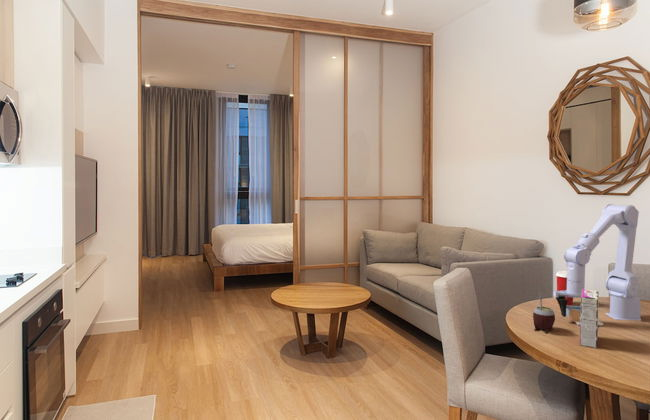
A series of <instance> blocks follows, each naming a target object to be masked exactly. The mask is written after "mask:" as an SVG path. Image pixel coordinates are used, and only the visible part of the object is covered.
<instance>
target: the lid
mask: <svg viewBox="0 0 650 420" xmlns="http://www.w3.org/2000/svg"><path fill="white" fill-rule="evenodd" d="M568 319H569V320H570V321H571V322H574V323H575V324H576V325H578V326H580V322H581V317H580V312H579V311H578V310H573V309H569V317H568ZM598 326H602V327H603V326H604V323H603V322H601V321H600V320H598Z"/></svg>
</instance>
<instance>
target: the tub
mask: <svg viewBox="0 0 650 420" xmlns="http://www.w3.org/2000/svg"><path fill="white" fill-rule="evenodd" d="M569 309H580V310H578V311H579V312H580V317H581V305H571V306H566V317H568V318H569Z"/></svg>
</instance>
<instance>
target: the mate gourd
mask: <svg viewBox="0 0 650 420" xmlns="http://www.w3.org/2000/svg"><path fill="white" fill-rule="evenodd" d="M537 293H538V295H539V296H538V297H539V305H540V306H537V307H535V309H534V310H533V312H532V313H533V314H532V319H533V327H534V331H535V332H541V331H543V332H544V334H547V335H548V334H549V330H550V331H552V330H553V327H554V324H555V322H556V315H555V312H554V310H553V309H552V308H550V307H548V306H543V301H542V300H543V298H542V297H543V296H542V294H541V293H540V292H537Z"/></svg>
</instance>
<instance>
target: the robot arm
mask: <svg viewBox="0 0 650 420" xmlns="http://www.w3.org/2000/svg"><path fill="white" fill-rule="evenodd" d="M600 213H601V217H600V218H599V219H598V221H597V222H596V224H595V225H594V226H593V227H592V229H591V230H590V232H585V233H583V234H582V235H581V237H580V238H579V240H578V241H577V242H576V243H575V244H574V246H572V247H569V248H567V249H566V251H565V252H564V254H563V259H564V260H565V265H566V268H567V269H566V270H567V290H564V291H557V290H553V297H555V299H556V301H558V303H557V304H558V307H559V308H560V313H561V316H562V317H563V318H566V317H567V315H566V306H567V302H568V300H566V298H565V297H573V298H581V295H582V289H585V288H586V287H585V282H586V279H585V278H586V265H587V264H588V263H589V262H590V260H591V255H592V252H593V251H594V250H595V249H596V247H597V246H598V245H599V244H600V237H601V236H603V235H604V234H605V233H606V231H607V230H609V229H610V227H611V226H613V225H615V227H617V228H618V236H617V237H618V238H617V245H616V255H615V263H614V264H615V265H614V269H613V270H611V271H609V272H608V275H607V278H606V280H605V288H606V290H607V291H608V294H610V296H609V312H605V313H604V314H605V315H607V316H608V317H610V318H612V319H613V320H616V321H617V320H618V321H620V320H621V321H639V322H641V321H642V319H641V309H642V304H641V303H642V302H641V299H640V298H639V296H638V295H637V294H638V293H639V291H640V286H639V277H638V276H637V275H636V274H635V273H634V272H633V271H632V270H633V269H632V268H633V262H634V252H635V251H634V250H635V245H636V235H637V227H638V224H639V223H638V222H639V221H638V220H639V214H640V213H639V210H638V209H637V208H636V207H635V206H634V205H632V204H630V205H629V204H628V205H624V204H613V203H608V204H606V205H605V206H604V208H603V209H601V212H600Z"/></svg>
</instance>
